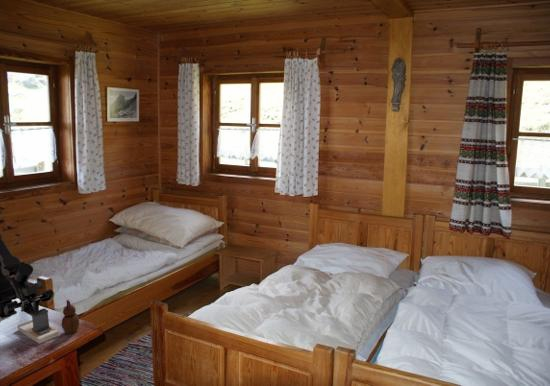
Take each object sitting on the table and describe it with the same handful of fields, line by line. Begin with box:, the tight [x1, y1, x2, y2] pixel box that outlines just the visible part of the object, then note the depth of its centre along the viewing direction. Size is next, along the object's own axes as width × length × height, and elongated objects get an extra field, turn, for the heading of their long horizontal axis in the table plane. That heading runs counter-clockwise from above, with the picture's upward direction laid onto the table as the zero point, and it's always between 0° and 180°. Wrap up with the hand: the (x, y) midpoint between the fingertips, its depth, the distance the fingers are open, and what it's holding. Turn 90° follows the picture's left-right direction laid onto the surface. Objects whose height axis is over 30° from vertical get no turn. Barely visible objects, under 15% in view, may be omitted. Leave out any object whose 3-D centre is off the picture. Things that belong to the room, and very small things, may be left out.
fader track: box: [17, 319, 60, 344], centre depth 193 cm, size 18×8×2 cm, turn 53°
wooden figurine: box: [61, 300, 80, 334], centre depth 193 cm, size 7×6×15 cm
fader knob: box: [30, 307, 52, 335], centre depth 190 cm, size 6×5×8 cm
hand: (38, 319), depth 191 cm, fingers closed, pressing on fader knob
